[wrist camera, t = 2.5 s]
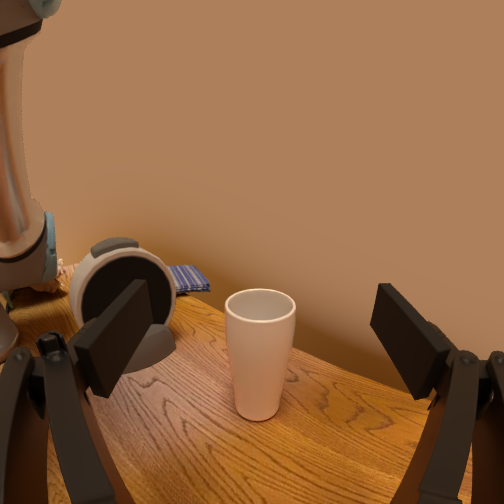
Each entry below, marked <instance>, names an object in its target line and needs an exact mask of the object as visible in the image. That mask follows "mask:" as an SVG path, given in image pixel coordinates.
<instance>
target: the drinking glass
mask: <svg viewBox="0 0 504 504" xmlns="http://www.w3.org/2000/svg"><path fill="white" fill-rule="evenodd" d="M295 315H296V304H295V302H294V301H293V299H292V298H290V297H289V296H288V295H286V294H284V293H282V292H279V291H275V290H270V289H249V290H244V291H240V292H238V293H235V294H233V295H232V296H230V297H229V298H228V299H227V301H226V303H225V337H226V347H227V353H228V359H229V365H230V371H231V377H232V383H233V389H234V396H235V407H236V410H237V411H238V413H239V414H240V415H241V416H242V417H244V418H246V419H248V420H252V421H263V420H267V419H269V418H271V417H272V416H274V415H275V414H276V412H277V411H278V408H279V403H280V397H281V393H282V388H283V384H284V380H285V376H286V372H287V367H288V363H289V359H290V355H291V350H292V345H293V338H294V331H295Z"/></svg>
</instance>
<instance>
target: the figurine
mask: <svg viewBox="0 0 504 504" xmlns="http://www.w3.org/2000/svg"><path fill="white" fill-rule="evenodd" d="M62 265H63V260H62V259H61V258H60V259H59V260H58V261H57V266H58V272H59V270H60V271H61V274H63V271H62V268H61V266H62ZM57 276H58V273H57Z"/></svg>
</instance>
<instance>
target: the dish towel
mask: <svg viewBox="0 0 504 504" xmlns="http://www.w3.org/2000/svg"><path fill="white" fill-rule="evenodd" d="M167 267H168V269H169V271H170V273H171V274H172V276H173V279H174V283H175V287H176V294H180V293H185V292H194V291H195V292H205V291H206V292H210V291H211V290H210V288H209V286H210V283H209V281H208V280H207V279H206V277H205V276H204V275H203V274H202V273H201V272H200V271H199V270H198V269H197V268H196V267H195V266H194V265H180V266H167Z"/></svg>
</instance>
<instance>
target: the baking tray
mask: <svg viewBox="0 0 504 504" xmlns="http://www.w3.org/2000/svg"><path fill="white" fill-rule="evenodd" d="M60 286H66V285H64V284H60V283H59V282H58V280H56V278H55V279H53V280H51V281H48V282H44V283H43V284H41V285H39V284H36V285H31V286H29V287H32V288H33V289H34V290H35V291H40V292H42V291H46V292H50V293H51V292H52V293H54V292H55V291H56V290H57V288H58V287H60ZM24 288H25V287H24Z"/></svg>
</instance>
